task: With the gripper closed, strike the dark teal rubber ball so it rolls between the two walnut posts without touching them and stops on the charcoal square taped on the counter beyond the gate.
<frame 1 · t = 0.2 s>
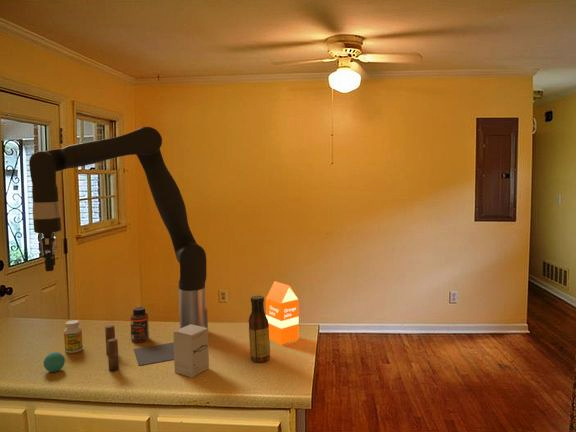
hand: (50, 268, 143), 29 cm above the worktop, tool pointing down, fingers open, 8 cm apart
post near: (113, 369, 137), on the worktop
supplement bottle: (74, 350, 152), on the worktop
ball: (54, 362, 136), on the worktop
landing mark: (158, 353, 148), on the worktop
supplement box: (192, 371, 136), on the worktop
post far: (111, 353, 148), on the worktop
orange juice: (282, 340, 160), on the worktop
sauce bottle: (259, 359, 143), on the worktop
supplement bottle 2: (140, 340, 160), on the worktop
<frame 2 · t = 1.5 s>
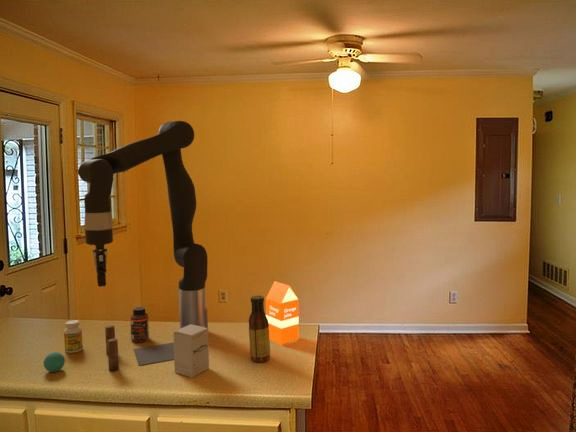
hand: (101, 284, 137), 25 cm above the worktop, tool pointing down, fingers open, 3 cm apart
nothing on the worktop moved.
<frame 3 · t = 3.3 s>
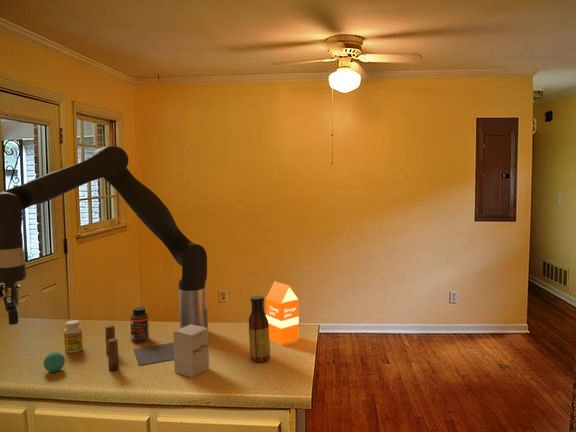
hand: (13, 323, 130), 16 cm above the worktop, tool pointing down, fingers closed
nothing on the worktop moved.
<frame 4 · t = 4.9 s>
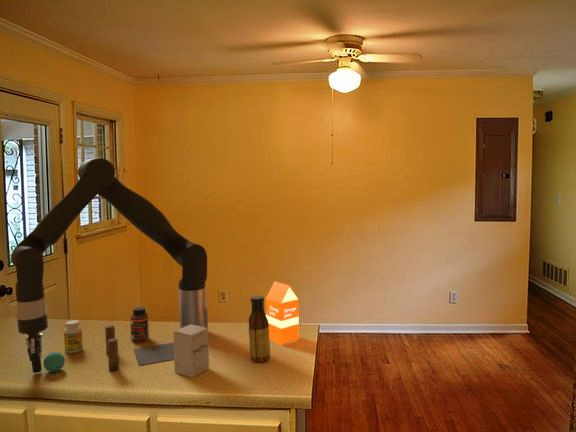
hand: (37, 371, 134), 1 cm above the worktop, tool pointing down, fingers closed
nothing on the worktop moved.
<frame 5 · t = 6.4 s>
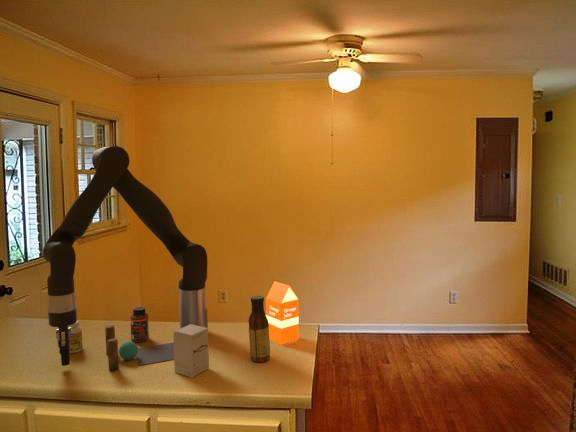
hand: (65, 364, 137), 2 cm above the worktop, tool pointing down, fingers closed
ball: (128, 350, 144), on the worktop
everything else where it was.
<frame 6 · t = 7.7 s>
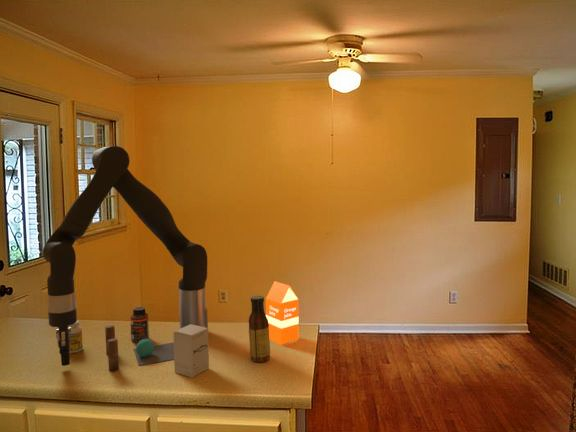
hand: (65, 364, 137), 2 cm above the worktop, tool pointing down, fingers closed
ball: (145, 348, 146), on the worktop
everything else where it was.
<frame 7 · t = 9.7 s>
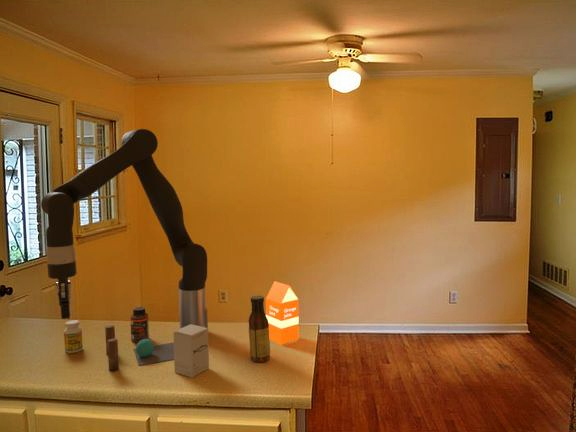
hand: (65, 317, 136), 16 cm above the worktop, tool pointing down, fingers closed
nothing on the worktop moved.
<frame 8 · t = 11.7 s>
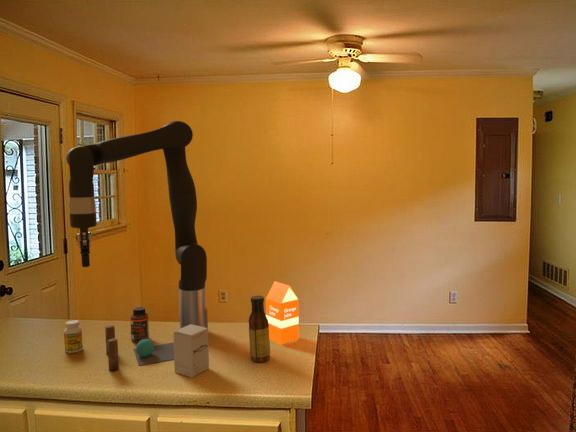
hand: (85, 266, 144), 29 cm above the worktop, tool pointing down, fingers closed
nothing on the worktop moved.
at the end: ball 4.2 cm from the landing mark (horizontally); ball never touched post far; ball never touched post near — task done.
